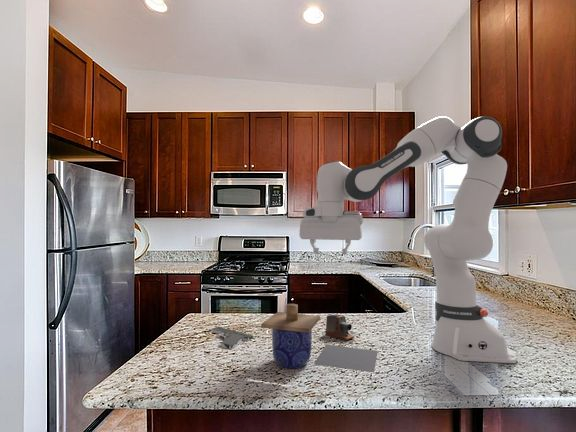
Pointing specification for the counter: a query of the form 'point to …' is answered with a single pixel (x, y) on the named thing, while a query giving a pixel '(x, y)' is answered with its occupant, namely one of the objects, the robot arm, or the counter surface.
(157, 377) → the counter surface
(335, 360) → the mat
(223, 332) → the handgun
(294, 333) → the planter
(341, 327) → the electronic device
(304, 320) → the lid
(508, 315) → the counter surface
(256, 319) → the counter surface
